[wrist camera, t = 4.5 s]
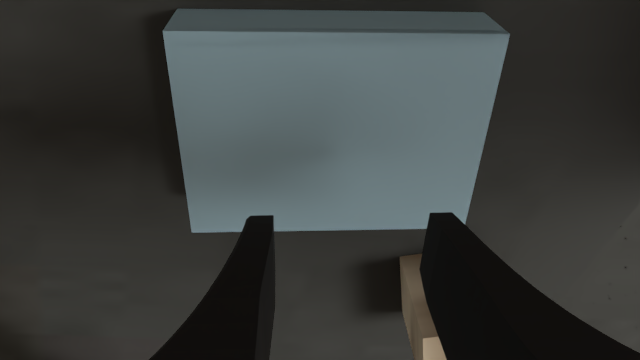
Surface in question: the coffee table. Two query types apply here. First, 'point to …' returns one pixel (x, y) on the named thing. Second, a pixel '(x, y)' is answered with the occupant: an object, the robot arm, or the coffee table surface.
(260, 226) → the robot arm
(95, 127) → the coffee table surface
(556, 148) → the coffee table surface
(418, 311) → the beech block
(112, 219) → the coffee table surface
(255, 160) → the book
